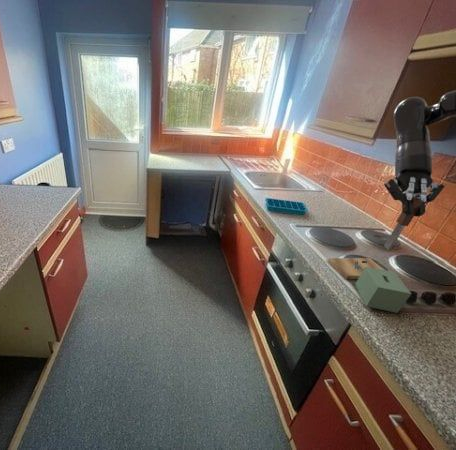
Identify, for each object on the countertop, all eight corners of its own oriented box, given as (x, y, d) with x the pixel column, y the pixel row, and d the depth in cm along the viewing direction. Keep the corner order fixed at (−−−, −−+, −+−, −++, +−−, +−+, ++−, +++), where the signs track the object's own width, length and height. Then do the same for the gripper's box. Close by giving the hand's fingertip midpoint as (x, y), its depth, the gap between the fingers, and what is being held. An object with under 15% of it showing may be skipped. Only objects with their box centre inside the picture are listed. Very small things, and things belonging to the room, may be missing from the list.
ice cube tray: (263, 202, 144) (265, 197, 142) (302, 207, 139) (303, 202, 137) (265, 210, 134) (266, 205, 132) (306, 216, 129) (308, 211, 127)
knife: (381, 245, 79) (410, 196, 70) (388, 246, 79) (418, 197, 70) (385, 250, 77) (415, 200, 68) (392, 251, 77) (423, 201, 68)
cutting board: (367, 261, 97) (369, 257, 96) (389, 278, 88) (391, 275, 87) (327, 261, 96) (329, 258, 95) (346, 278, 87) (347, 275, 87)
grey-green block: (354, 284, 85) (364, 266, 81) (382, 290, 83) (394, 271, 79) (366, 306, 77) (378, 287, 73) (397, 313, 75) (411, 293, 71)
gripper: (430, 169, 75) (432, 223, 71) (377, 164, 79) (376, 215, 75) (453, 155, 68) (457, 214, 64) (393, 151, 72) (393, 206, 68)
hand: (413, 214), depth 69 cm, fingers closed on knife, 2 cm apart
